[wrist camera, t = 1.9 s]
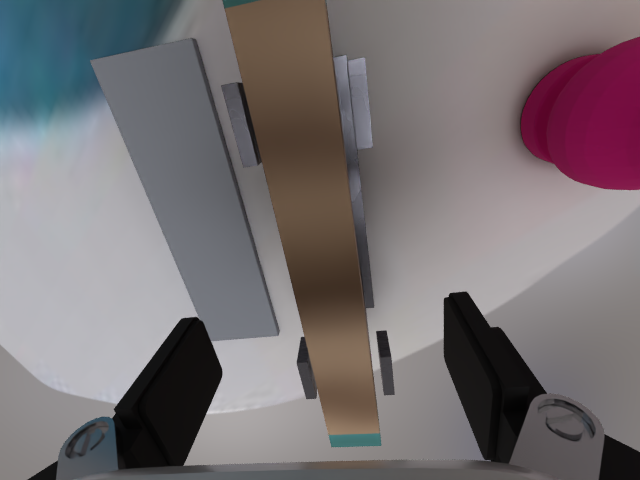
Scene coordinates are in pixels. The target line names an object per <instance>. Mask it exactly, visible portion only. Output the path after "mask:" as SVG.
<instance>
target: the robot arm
mask: <svg viewBox="0 0 640 480" xmlns="http://www.w3.org/2000/svg"><path fill="white" fill-rule="evenodd" d="M444 358H445V362H446V365H447V368H448V370H449V373H450V375H451V378H452V380H453V383H454V385H455V388H456V391H457V393H458V396H459V398H460V400H461V403H462V406H463V408H464V411H465V413H466V416H467V418H468V421H469V423H470V426H471V428H472V431H473V433H474V436H475V438H476V441H477V443H478V446H479V448H480V451H481V453H482V455H483V458H484V459H485V460H491V461H478V460H372V461H327V462H292V463H291V462H290V463H257V464H256V463H255V464H224V465H195V466H183V465H184V463H185V461H186V459H187V457H188V454H189V452H190V449H191V447H192V445H193V443H194V440H195V438H196V436H197V434H198V431H199V429H200V427H201V424H202V422H203V420H204V418H205V415H206V413H207V411H208V408H209V406H210V404H211V402H212V399H213V397H214V395H215V392H216V390H217V388H218V385H219V383H220V381H221V378H222V368H221V365H220V363H219V360H218V358H217V355H216V353H215V350H214V348H213V345H212V342H211V340H210V337H209V335H208V332H207V330H206V327H205V325H204V323H203V321H202V320H199V318H197V317H191V318H183V319H181V320H180V321H179V322H178V324H177V325H176V326H175V328H174V329H173V330H172V332H171V333H170V334H169V336H168V337H167V338H166V340H165V341H164V342H163V344H162V345H161V347H160V348H159V349H158V351H157V352H156V353H155V355H154V356H153V357H152V359H151V360H150V361H149V363H148V364H147V365H146V367H145V368H144V369H143V371H142V372H141V373H140V375H139V376H138V378H137V379H136V380H135V382H134V383H133V384H132V386H131V387H130V388H129V390H128V391H127V392H126V394H125V395H124V396H123V398H122V399H121V400H120V402H119V403H118V404H117V406H116V407H115V408H114V410H115V412H116V414H115V415H114V417H113V418H110V417H100V418H96V419H94V420H91V421H89V422H87V423H86V424H84V425H83V426H81V427H80V428H78V429H77V430H76V431H75V432H74V433H73V434H72V435H71V436H70V437H69V438H68V439H67V440H66V441H65V443H64V444H63V446H62V448H61V450H60V453H59V457H58V461H56V462H55V463H53V464H51V465H50V466H48V467H47V468H45V469H44V470H42V471H41V472H39V473H37V474H36V475H34V476H33V477H31V478H29V479H28V480H640V452H638V451H637V450H634V449H632V448H631V447H629V446H627V445H625V444H623V443H621V442H619V441H617V440H615V439H613V438H611V437H609V436H607V435H605V434H604V429H603V427H602V424H601V423H600V421H599V419H598V418H597V417H596V416H595V415H594V414H593V413H592V412H591V411H590V410H589V409H588V408H586V407H585V406H584V405H582V404H581V403H579V402H577V401H575V400H573V399H571V398H569V397H566V396H562V395H558V394H547V393H546V391H545V390H544V389H543V387H542V386H541V384H540V383H539V381H538V380H537V379H536V377H535V376H534V374H533V373H532V372H531V370H530V369H529V367H528V366H527V365H526V363H525V362H524V360H523V359H522V357H521V356H520V354H519V353H518V352H517V350H516V349H515V348H514V346H513V345H512V343H511V342H510V340H509V339H508V337H507V336H506V335H505V333H504V332H503V331H502V329H501V328H499V327H490V326H489V324H488V323H487V321H486V320H485V318H484V317H483V315H482V314H481V312H480V311H479V309H478V308H477V306H476V305H475V303H474V301H473V300H472V298H471V297H470V295H469V294H468V293H467V292H456V293H450V294H449V297H446V298H444Z"/></svg>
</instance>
